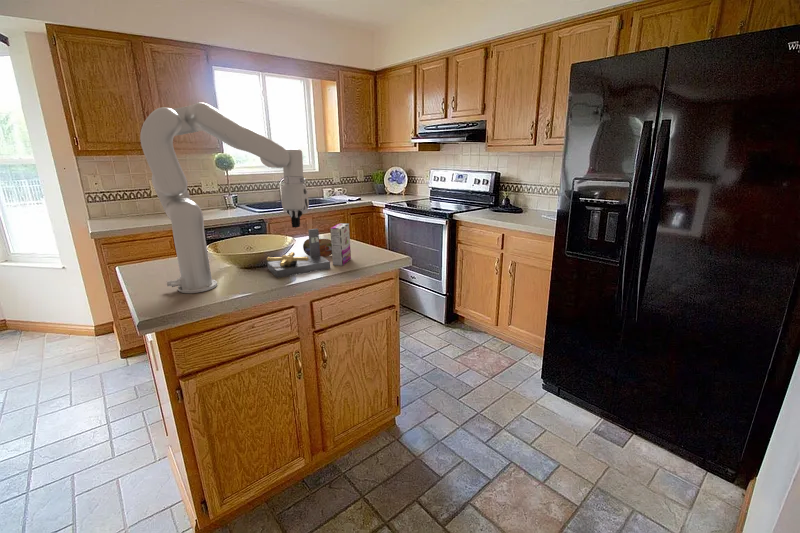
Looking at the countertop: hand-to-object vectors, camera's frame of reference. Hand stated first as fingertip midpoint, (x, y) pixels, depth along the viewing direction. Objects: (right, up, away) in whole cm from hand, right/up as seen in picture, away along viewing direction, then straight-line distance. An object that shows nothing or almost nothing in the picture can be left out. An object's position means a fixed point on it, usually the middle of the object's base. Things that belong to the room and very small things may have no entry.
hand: (296, 226), depth 154 cm
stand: (0, -17, +3) cm, 17 cm away
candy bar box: (+17, -15, +13) cm, 26 cm away
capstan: (-3, -15, -2) cm, 16 cm away
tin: (+5, -11, +23) cm, 26 cm away
